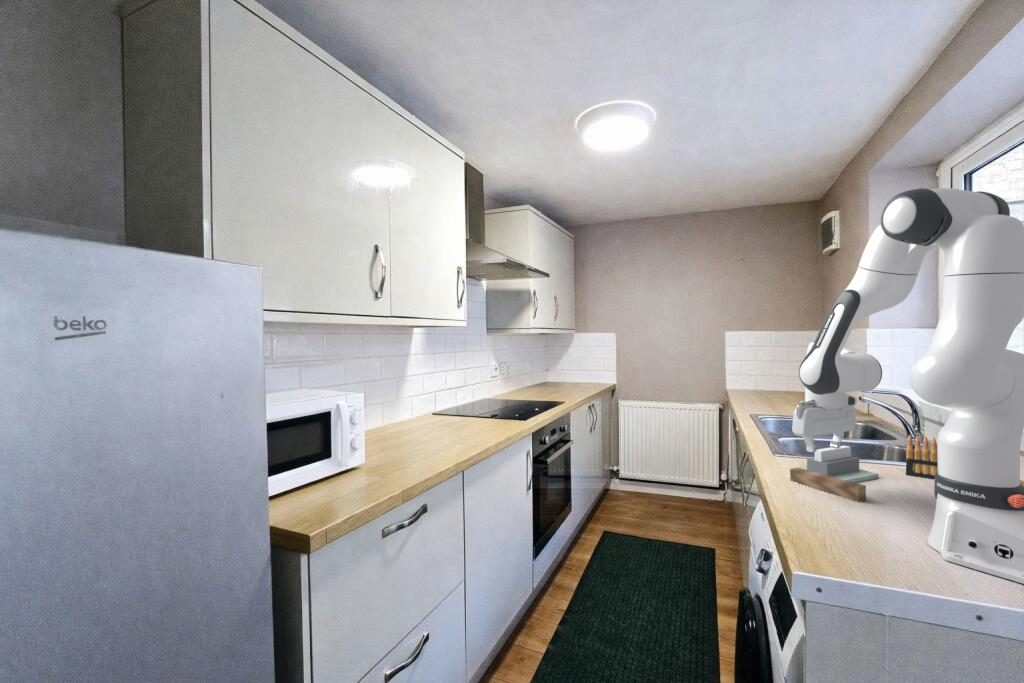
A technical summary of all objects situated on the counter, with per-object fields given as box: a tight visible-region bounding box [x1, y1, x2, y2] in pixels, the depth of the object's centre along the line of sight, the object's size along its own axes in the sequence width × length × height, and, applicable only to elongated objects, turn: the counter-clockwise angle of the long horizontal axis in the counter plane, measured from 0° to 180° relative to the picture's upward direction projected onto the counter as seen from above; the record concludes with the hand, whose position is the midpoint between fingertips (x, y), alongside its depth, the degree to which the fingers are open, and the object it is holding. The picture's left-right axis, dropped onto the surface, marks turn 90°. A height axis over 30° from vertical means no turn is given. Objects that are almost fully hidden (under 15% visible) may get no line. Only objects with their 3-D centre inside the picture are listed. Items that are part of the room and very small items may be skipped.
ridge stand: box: [789, 445, 879, 483], centre depth 136 cm, size 14×18×8 cm
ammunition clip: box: [905, 434, 938, 480], centre depth 132 cm, size 11×2×12 cm, turn 45°
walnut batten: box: [789, 466, 867, 503], centre depth 123 cm, size 18×3×4 cm, turn 23°
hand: (823, 449), depth 124 cm, fingers open, 8 cm apart
